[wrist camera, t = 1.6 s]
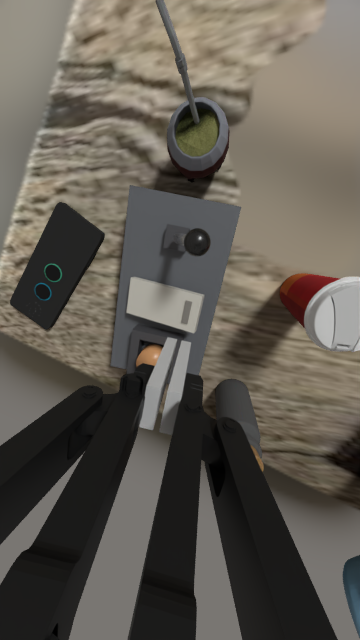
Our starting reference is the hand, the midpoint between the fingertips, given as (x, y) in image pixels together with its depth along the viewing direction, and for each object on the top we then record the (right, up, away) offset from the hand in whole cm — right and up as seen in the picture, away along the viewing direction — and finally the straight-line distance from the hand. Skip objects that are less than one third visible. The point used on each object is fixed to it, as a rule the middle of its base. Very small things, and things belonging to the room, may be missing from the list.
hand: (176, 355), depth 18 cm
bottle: (+10, -10, +24) cm, 28 cm away
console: (-1, +7, +19) cm, 21 cm away
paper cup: (+18, +7, +17) cm, 26 cm away
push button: (-3, -2, +15) cm, 16 cm away
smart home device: (-20, +11, +21) cm, 31 cm away
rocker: (-2, +5, +13) cm, 14 cm away
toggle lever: (0, +13, +11) cm, 17 cm away
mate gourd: (+3, +25, +13) cm, 29 cm away
